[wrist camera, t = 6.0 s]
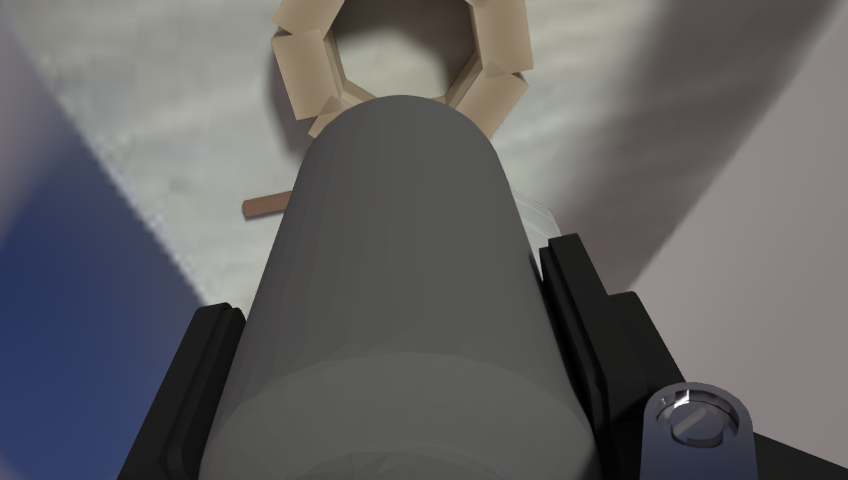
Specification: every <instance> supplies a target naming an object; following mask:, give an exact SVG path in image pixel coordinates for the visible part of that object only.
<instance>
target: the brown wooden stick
mask: <svg viewBox="0 0 848 480" xmlns="http://www.w3.org/2000/svg"><path fill="white" fill-rule="evenodd" d="M291 193H292V191H288V192H284V193H279V194H274V195H269V196H265V197H260V198H255V199H250V200H246V201H244V202H243V204H242V208H243V210H244V213H245V215H246V217H249V216H254V215H258V214H263V213H268V212H273V211H278V210H282V209H286V207H287V204H288V201H289V198H290V196H291Z"/></svg>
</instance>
